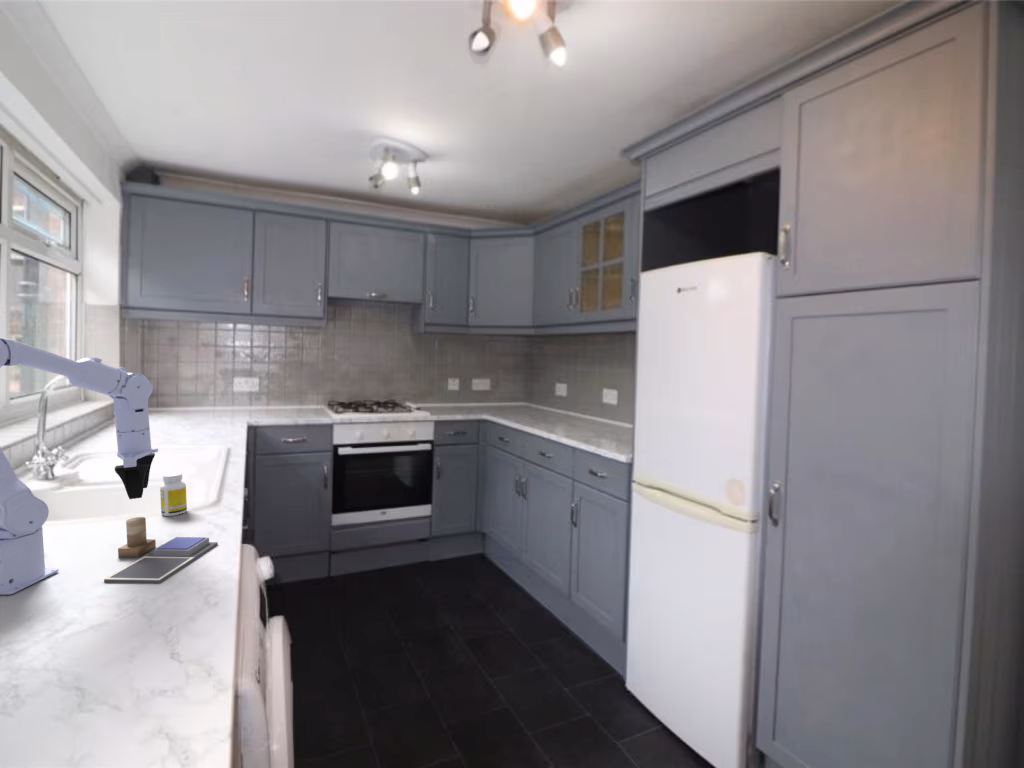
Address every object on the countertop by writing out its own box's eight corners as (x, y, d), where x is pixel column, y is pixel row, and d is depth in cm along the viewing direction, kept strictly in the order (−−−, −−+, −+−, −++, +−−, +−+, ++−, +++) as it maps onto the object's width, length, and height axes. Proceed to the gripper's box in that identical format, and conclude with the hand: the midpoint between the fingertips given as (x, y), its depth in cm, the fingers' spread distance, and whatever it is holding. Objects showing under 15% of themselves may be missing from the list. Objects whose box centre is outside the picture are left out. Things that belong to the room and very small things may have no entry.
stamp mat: (159, 583, 94) (159, 572, 94) (104, 582, 95) (103, 571, 95) (217, 544, 112) (217, 535, 112) (170, 544, 113) (170, 535, 112)
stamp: (138, 558, 105) (136, 524, 105) (118, 558, 105) (116, 523, 105) (155, 548, 110) (154, 515, 110) (136, 548, 110) (135, 515, 110)
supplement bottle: (192, 510, 135) (190, 472, 134) (176, 517, 130) (174, 477, 129) (172, 509, 136) (170, 471, 135) (155, 516, 130) (154, 476, 130)
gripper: (151, 433, 107) (156, 499, 108) (160, 422, 120) (164, 481, 121) (107, 437, 104) (114, 505, 105) (121, 425, 116) (127, 486, 118)
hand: (138, 493), depth 113 cm, fingers open, 7 cm apart
